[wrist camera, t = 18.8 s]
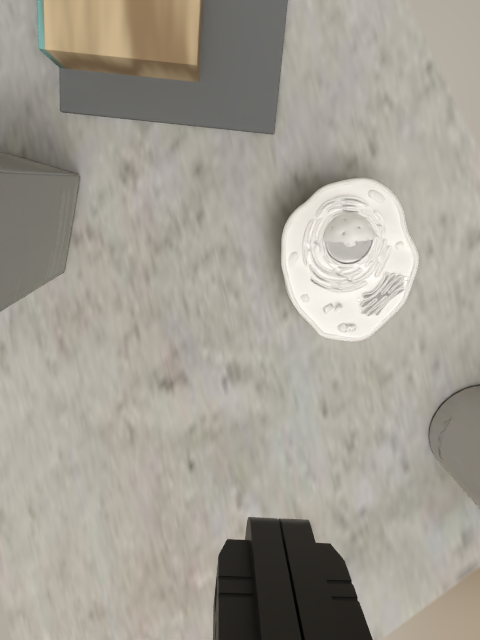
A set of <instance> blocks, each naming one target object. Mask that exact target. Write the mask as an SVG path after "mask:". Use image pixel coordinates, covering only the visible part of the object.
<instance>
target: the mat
mask: <svg viewBox="0 0 480 640" xmlns="http://www.w3.org/2000/svg"><path fill="white" fill-rule="evenodd" d="M287 3H288V0H204V1H203V21H202V41H201V61H200V80H199V82H192V81H182V80H172V79H162V78H152V77H142V76H132V75H122V74H112V73H102V72H93V71H83V70H73V69H63V68H60V111H61V112H65V113H74V114H84V115H93V116H103V117H112V118H122V119H132V120H141V121H151V122H160V123H170V124H179V125H189V126H199V127H208V128H218V129H227V130H237V131H246V132H256V133H266V134H274V131H275V122H276V112H277V102H278V92H279V82H280V72H281V62H282V52H283V42H284V32H285V22H286V12H287Z"/></svg>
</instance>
